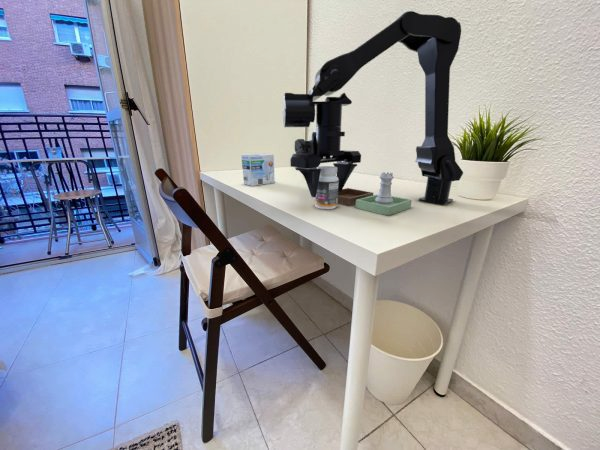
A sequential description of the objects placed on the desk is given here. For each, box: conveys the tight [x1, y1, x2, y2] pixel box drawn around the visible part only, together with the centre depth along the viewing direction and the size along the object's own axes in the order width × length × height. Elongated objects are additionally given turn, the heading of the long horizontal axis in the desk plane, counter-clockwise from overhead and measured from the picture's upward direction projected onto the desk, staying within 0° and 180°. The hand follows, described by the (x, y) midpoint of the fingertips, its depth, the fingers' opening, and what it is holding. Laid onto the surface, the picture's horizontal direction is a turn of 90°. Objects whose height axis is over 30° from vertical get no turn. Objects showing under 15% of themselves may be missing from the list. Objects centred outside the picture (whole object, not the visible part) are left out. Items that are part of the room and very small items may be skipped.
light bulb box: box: [240, 153, 276, 187], centre depth 93 cm, size 11×7×11 cm, turn 132°
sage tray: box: [355, 193, 413, 216], centre depth 61 cm, size 10×9×2 cm
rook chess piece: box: [375, 171, 395, 206], centre depth 60 cm, size 4×4×8 cm
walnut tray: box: [337, 187, 374, 207], centre depth 69 cm, size 10×9×2 cm
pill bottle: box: [314, 165, 339, 210], centre depth 61 cm, size 6×6×10 cm
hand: (326, 194), depth 61 cm, fingers open, 9 cm apart
